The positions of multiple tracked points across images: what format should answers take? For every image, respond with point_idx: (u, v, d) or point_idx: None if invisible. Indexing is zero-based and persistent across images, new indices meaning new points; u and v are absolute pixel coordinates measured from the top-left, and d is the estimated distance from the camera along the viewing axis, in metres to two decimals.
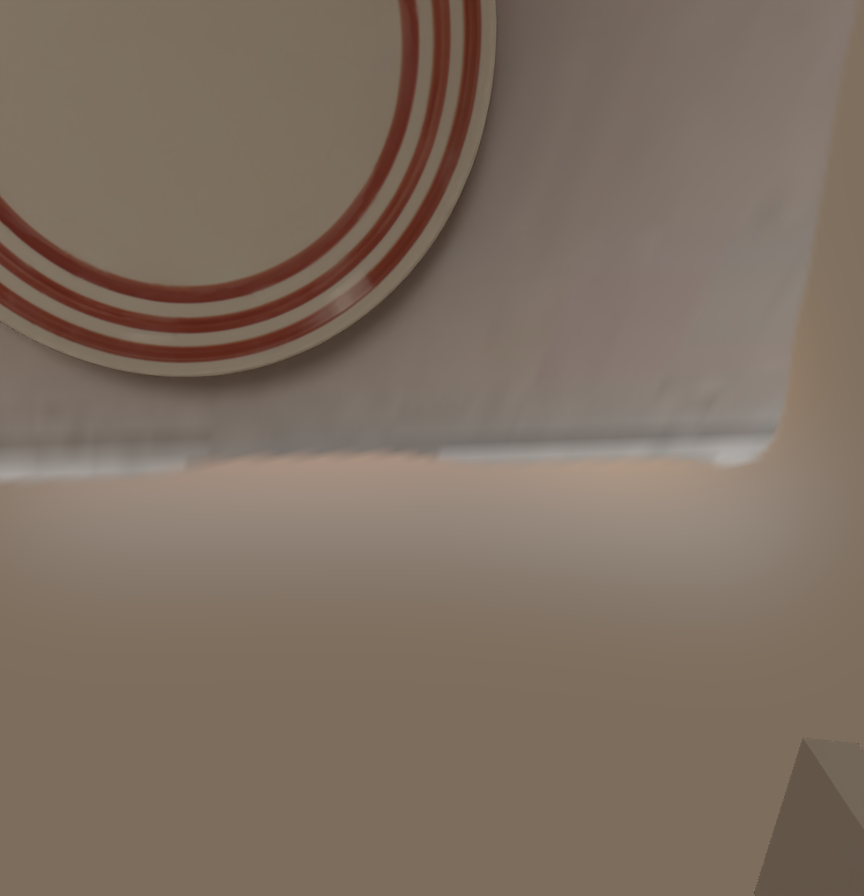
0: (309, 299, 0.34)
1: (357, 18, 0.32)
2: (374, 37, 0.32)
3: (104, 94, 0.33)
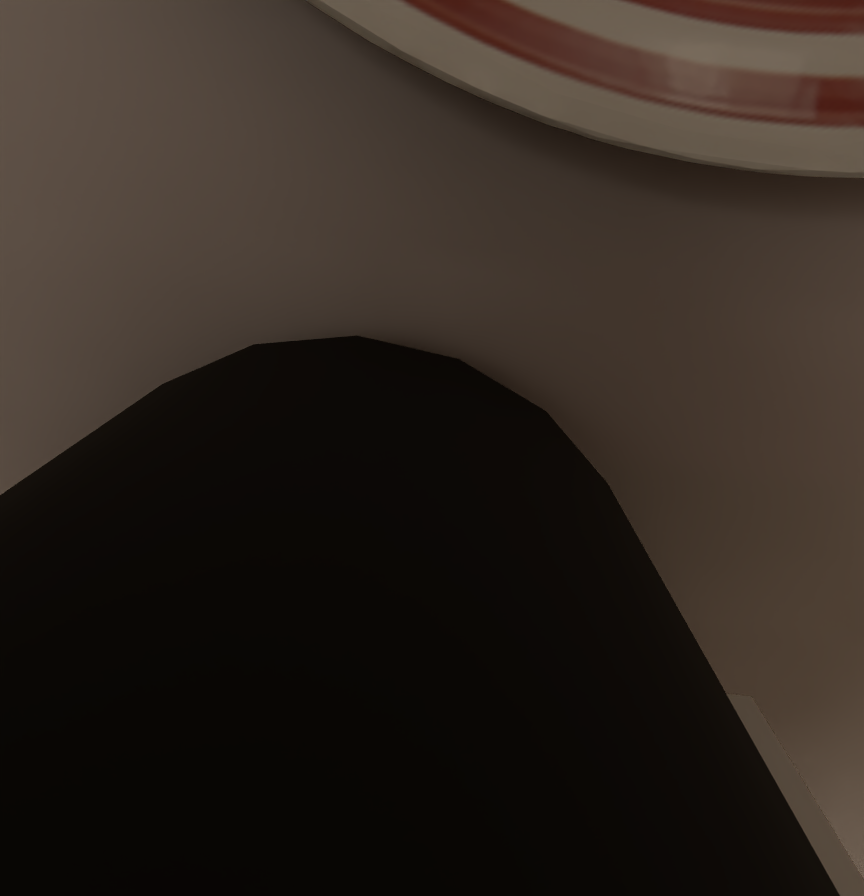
0: None
1: None
2: None
3: None
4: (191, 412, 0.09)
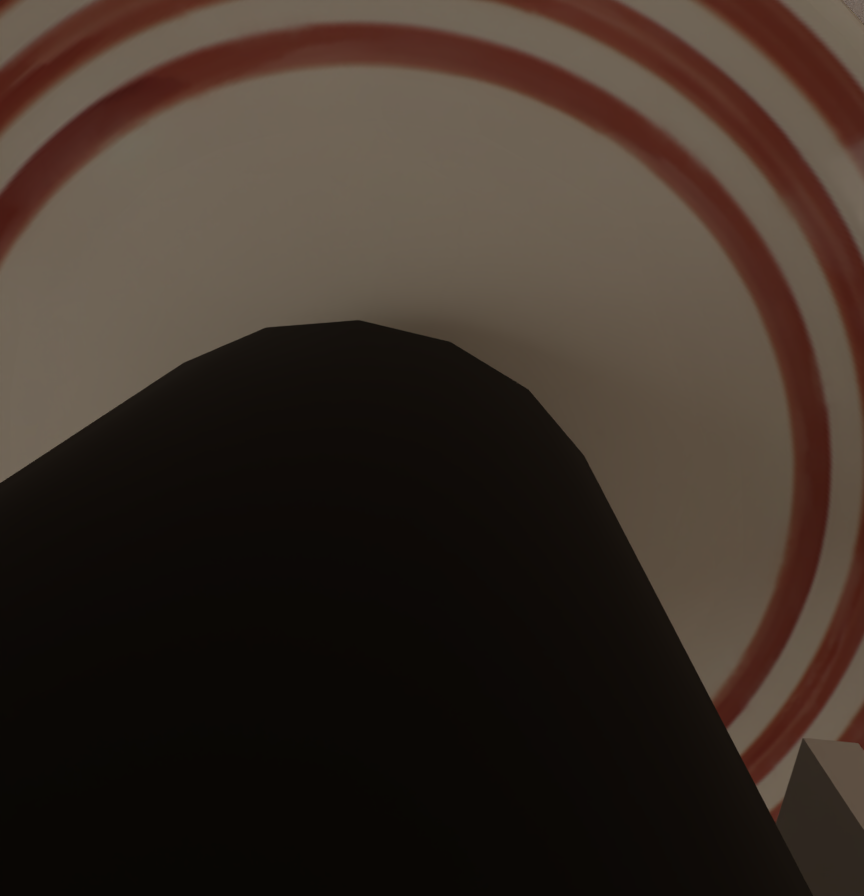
0: None
1: (315, 163, 0.16)
2: (347, 128, 0.16)
3: None
4: (216, 379, 0.10)
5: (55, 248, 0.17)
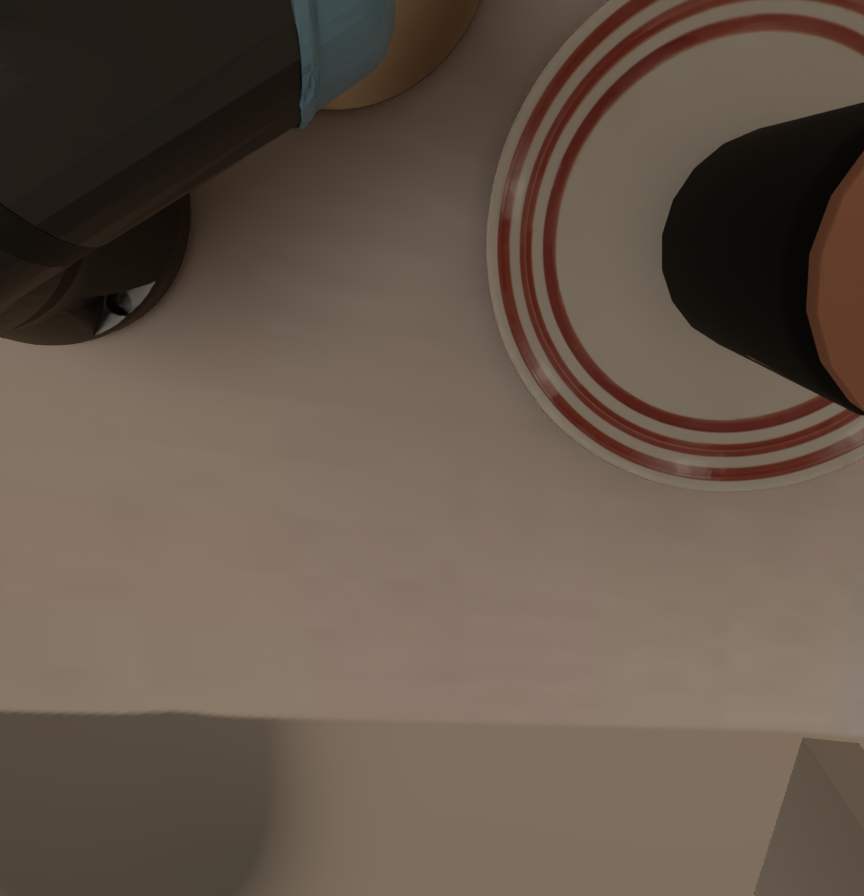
0: None
1: (744, 73, 0.39)
2: (761, 57, 0.38)
3: None
4: None
5: (625, 111, 0.39)
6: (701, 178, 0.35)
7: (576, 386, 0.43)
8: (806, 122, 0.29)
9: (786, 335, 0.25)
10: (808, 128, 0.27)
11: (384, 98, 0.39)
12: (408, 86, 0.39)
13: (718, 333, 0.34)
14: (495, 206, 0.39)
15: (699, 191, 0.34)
